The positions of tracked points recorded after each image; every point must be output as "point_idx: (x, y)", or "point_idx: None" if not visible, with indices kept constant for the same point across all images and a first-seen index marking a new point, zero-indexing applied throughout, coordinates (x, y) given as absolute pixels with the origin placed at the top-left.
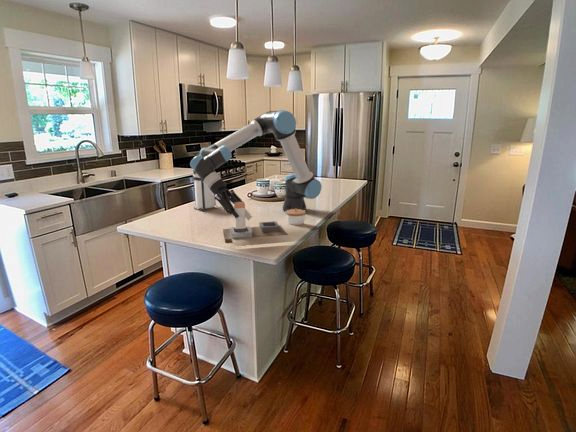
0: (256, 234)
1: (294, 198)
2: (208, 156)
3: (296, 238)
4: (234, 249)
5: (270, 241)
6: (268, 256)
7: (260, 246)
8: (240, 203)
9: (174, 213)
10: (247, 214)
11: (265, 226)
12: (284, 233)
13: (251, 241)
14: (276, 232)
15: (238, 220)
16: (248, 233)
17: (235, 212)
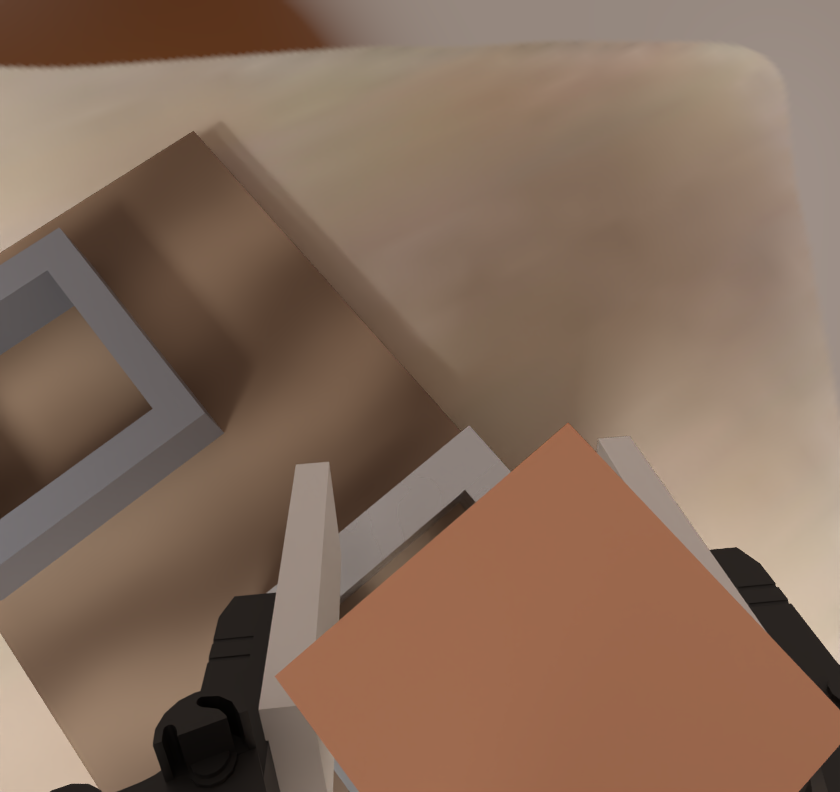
0: (343, 453)
1: None
2: None
3: (193, 78)
4: (821, 471)
5: (398, 257)
6: (757, 102)
7: (586, 276)
8: (634, 597)
9: None
10: (331, 555)
11: (142, 394)
12: (166, 178)
13: (502, 442)
14: (163, 272)
15: None
16: (505, 470)
17: (778, 639)
